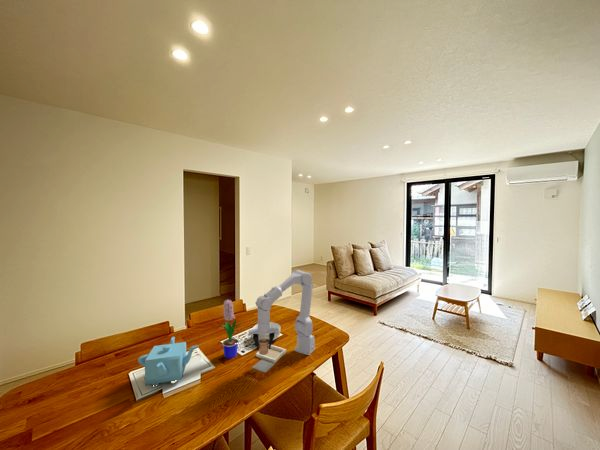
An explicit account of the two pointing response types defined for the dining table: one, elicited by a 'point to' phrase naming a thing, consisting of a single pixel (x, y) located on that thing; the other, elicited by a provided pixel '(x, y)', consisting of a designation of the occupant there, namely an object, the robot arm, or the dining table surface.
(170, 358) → the teakettle
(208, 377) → the dining table surface
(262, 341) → the pot
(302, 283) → the robot arm
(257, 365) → the coaster
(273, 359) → the square beige tray
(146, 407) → the dining table surface
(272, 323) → the cereal bowl
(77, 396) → the dining table surface
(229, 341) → the hyacinth
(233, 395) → the dining table surface
